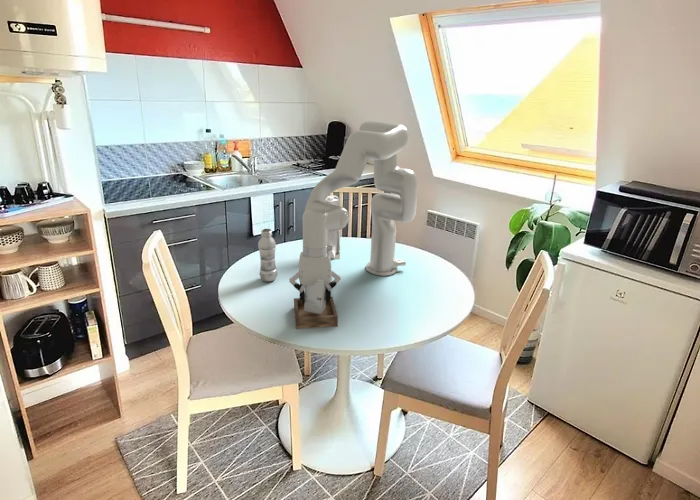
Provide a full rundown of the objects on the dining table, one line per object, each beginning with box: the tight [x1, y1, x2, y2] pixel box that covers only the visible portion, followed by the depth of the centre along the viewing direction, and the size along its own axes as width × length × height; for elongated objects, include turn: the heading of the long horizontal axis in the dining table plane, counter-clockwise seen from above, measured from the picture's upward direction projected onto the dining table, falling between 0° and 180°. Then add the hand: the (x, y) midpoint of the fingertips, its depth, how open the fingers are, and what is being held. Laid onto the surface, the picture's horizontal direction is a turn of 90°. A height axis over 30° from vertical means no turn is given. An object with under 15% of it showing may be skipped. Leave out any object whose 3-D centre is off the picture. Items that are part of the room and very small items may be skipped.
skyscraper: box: [324, 195, 341, 260], centre depth 183 cm, size 8×8×28 cm
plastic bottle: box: [257, 228, 278, 283], centre depth 162 cm, size 6×7×20 cm
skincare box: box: [304, 279, 326, 314], centre depth 140 cm, size 6×4×12 cm
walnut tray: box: [293, 295, 339, 330], centre depth 142 cm, size 13×13×4 cm
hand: (315, 300), depth 141 cm, fingers closed on skincare box, 7 cm apart
